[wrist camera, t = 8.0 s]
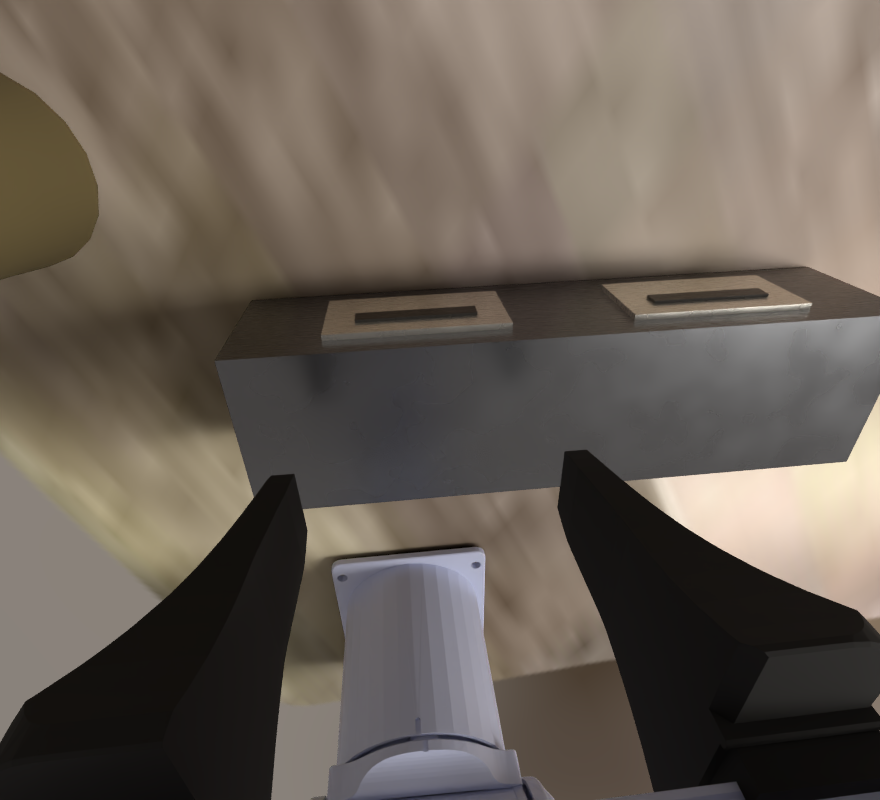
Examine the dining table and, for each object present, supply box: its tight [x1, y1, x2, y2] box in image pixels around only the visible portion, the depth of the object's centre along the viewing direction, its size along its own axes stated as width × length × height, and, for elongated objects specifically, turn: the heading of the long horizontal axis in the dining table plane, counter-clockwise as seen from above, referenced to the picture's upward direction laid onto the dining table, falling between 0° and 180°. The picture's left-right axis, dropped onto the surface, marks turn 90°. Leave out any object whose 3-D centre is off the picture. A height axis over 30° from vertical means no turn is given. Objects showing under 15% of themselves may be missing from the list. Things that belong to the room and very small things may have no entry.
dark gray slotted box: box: [215, 267, 880, 509], centre depth 19 cm, size 6×22×5 cm, turn 92°
